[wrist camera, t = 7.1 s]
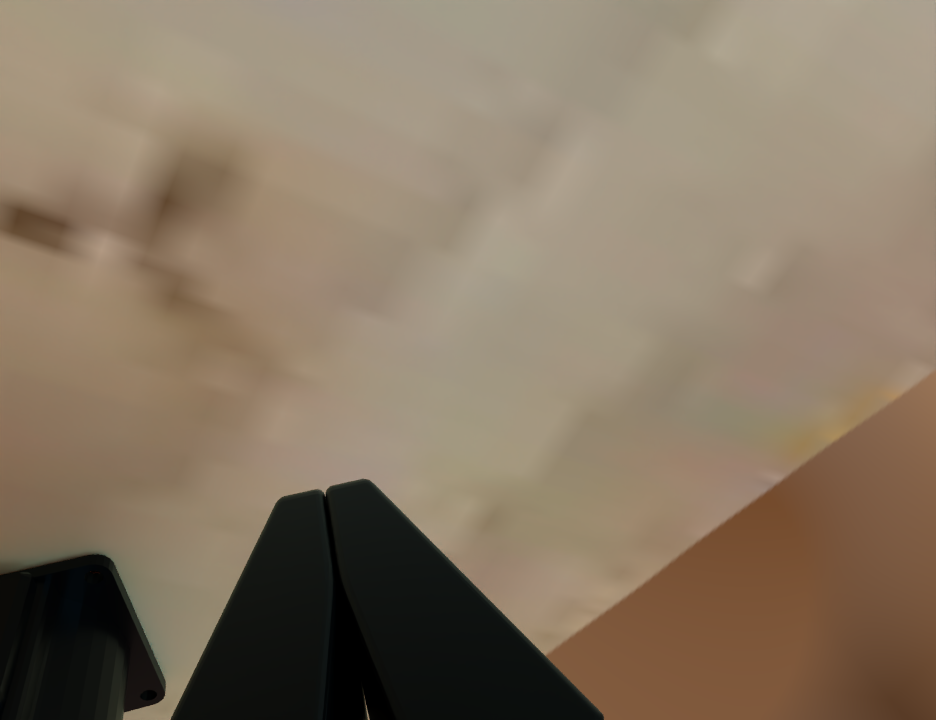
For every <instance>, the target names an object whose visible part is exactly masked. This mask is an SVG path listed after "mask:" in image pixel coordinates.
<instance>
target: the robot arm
mask: <svg viewBox="0 0 936 720" xmlns="http://www.w3.org/2000/svg"><path fill="white" fill-rule="evenodd" d="M90 571H98V572H101V573H99V574H93V573H90ZM165 689H166V681H165V679H164V676H163V674H162V672H161V669H160V667H159V665H158V663H157V660H156V658H155V656H154V654H153V651H152V649H151V647H150V644H149V642H148V640H147V638H146V635H145V633H144V631H143V628H142V626H141V624H140V622H139V619H138V617H137V615H136V612H135V610H134V608H133V606H132V603H131V601H130V599H129V597H128V594H127V592H126V590H125V587H124V585H123V583H122V581H121V578H120V576H119V574H118V571H117V569H116V567H115V565H114V563H113V561H112V560H111V559H110V558H108V557H106V556H104V555H98V554H97V555H88V556H84V557H79V558H75V559H70V560H66V561H62V562H57V563H53V564H48V565H44V566H39V567H35V568H31V569H26V570H22V571H17V572H13V573H8V574H4V575H0V720H123V713H124V712H127V711H131V710H135V709H138V708H142V707H146V706H150V705H153V704H156V703H158V702H160V701H161V700H162V699H163V698H164V696H165ZM364 696H365V698H364ZM365 701H366V704H365ZM366 705H367V710H368V714H369V719H370V720H604V716H603V714H602V713H601V712H600V711H599V710H598V709H597V708H596V707H595V706H594V705H593V704H592V703H591V702H590V701H589V700H588V699H587V698H586V697H585V696H584V695H583V694H582V693H581V692H580V691H579V690H578V689H577V688H576V687H575V686H574V685H573V684H572V683H571V682H570V681H569V680H568V679H567V678H566V677H565V676H564V675H563V674H562V672H561V671H559V669H558V668H556V667H555V665H553V663H551V661H550V660H549V659H548V658H547V657H546V656H545V655H544V654H543V653H542V652H541V651H540V650H539V649H538V648H537V647H536V646H535V645H534V644H533V643H532V642H531V641H530V640H529V639H528V638H527V637H526V636H525V635H524V634H523V633H522V632H521V631H520V630H519V629H518V628H517V627H516V626H515V625H514V624H513V623H512V622H511V621H510V620H509V619H508V618H507V617H506V616H505V615H504V614H503V613H502V612H501V611H500V610H499V609H498V608H497V607H496V606H495V605H494V604H493V603H492V602H491V601H490V600H489V599H488V598H487V597H486V596H485V595H484V594H483V593H482V592H481V591H480V590H479V589H478V588H477V587H476V586H475V585H474V584H473V583H472V582H471V581H470V580H469V579H468V578H467V577H466V576H465V575H464V574H463V573H462V572H461V571H460V570H459V569H458V568H457V567H456V566H455V565H454V564H453V563H452V562H451V561H450V560H449V559H448V558H447V557H446V556H445V555H444V554H443V553H442V552H441V551H440V550H439V549H438V548H437V547H436V546H435V545H434V544H433V543H432V542H431V541H430V540H429V539H428V538H427V537H426V536H425V535H424V534H423V533H422V532H421V531H420V530H419V529H418V528H417V527H416V526H415V525H414V524H413V523H412V522H411V521H410V519H409V518H408V517H407V516H406V515H405V514H404V513H403V512H402V511H401V510H400V509H399V508H398V507H397V506H396V505H395V504H394V503H393V502H392V501H391V500H390V499H389V498H388V497H387V496H386V495H385V494H384V493H383V492H382V491H381V490H380V489H379V488H378V487H377V486H376V485H375V484H374V483H372V482H371V481H370V480H367V479H360V480H356V481H351V482H347V483H342V484H338V485H333V486H330V487H329V488H328V489H327V491H326V497H325V494H324V493H323V492H322V491H321V490H318V489H315V490H311V491H306V492H302V493H297V494H293V495H288V496H284V497H282V498H280V499H279V500H278V501H277V503H276V504H275V506H274V508H273V510H272V512H271V514H270V516H269V518H268V521H267V523H266V525H265V527H264V529H263V531H262V533H261V535H260V537H259V539H258V541H257V543H256V545H255V547H254V549H253V551H252V553H251V555H250V558H249V560H248V562H247V564H246V566H245V568H244V570H243V572H242V574H241V576H240V578H239V580H238V582H237V584H236V586H235V588H234V590H233V592H232V594H231V597H230V599H229V601H228V603H227V605H226V607H225V609H224V611H223V613H222V615H221V617H220V619H219V621H218V623H217V625H216V627H215V629H214V631H213V633H212V636H211V638H210V640H209V642H208V644H207V646H206V648H205V650H204V652H203V654H202V656H201V658H200V660H199V662H198V664H197V666H196V668H195V670H194V672H193V675H192V677H191V679H190V681H189V683H188V685H187V687H186V689H185V691H184V693H183V695H182V697H181V699H180V701H179V703H178V705H177V707H176V709H175V712H174V714H173V716H172V718H171V720H368V718H367V711H366Z"/></svg>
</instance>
